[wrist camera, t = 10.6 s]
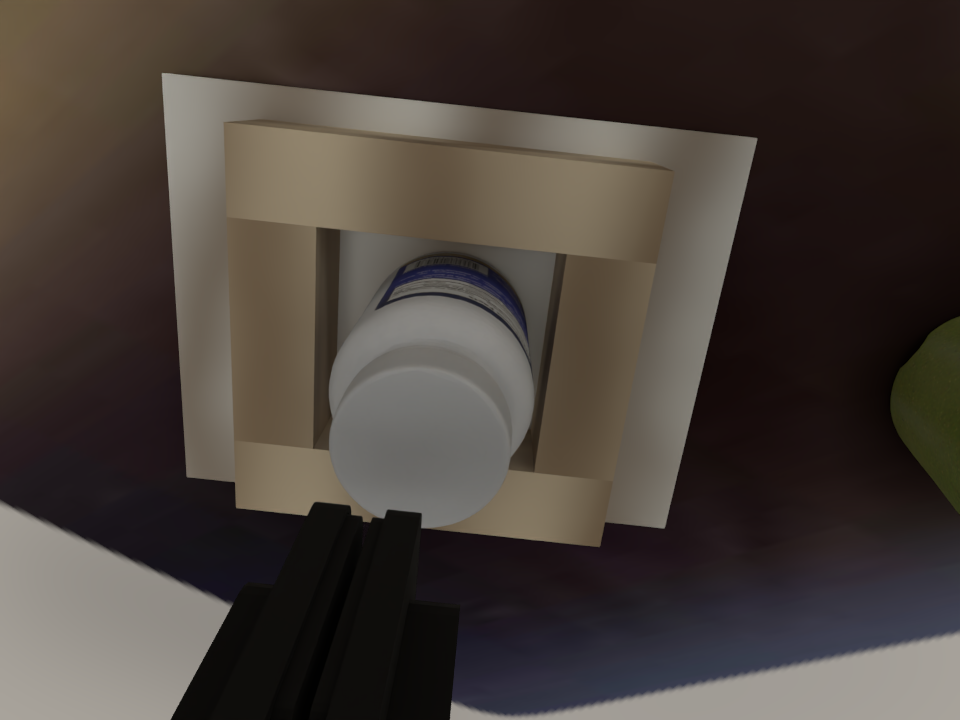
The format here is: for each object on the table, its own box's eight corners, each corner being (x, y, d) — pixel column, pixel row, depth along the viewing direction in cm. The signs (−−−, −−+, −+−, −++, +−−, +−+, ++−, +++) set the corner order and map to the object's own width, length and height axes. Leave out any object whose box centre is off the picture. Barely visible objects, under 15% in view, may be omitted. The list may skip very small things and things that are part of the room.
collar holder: (746, 136, 21) (797, 144, 18) (659, 513, 26) (684, 581, 23) (176, 73, 21) (106, 68, 18) (198, 463, 26) (147, 523, 23)
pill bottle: (460, 425, 24) (436, 594, 16) (340, 335, 23) (248, 466, 15) (560, 316, 23) (592, 441, 14) (436, 214, 22) (394, 285, 13)
